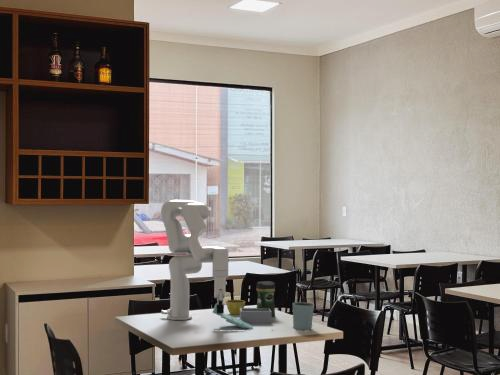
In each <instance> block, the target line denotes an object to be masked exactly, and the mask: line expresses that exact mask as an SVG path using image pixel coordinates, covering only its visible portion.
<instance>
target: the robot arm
mask: <svg viewBox="0 0 500 375" xmlns="http://www.w3.org/2000/svg"><path fill="white" fill-rule="evenodd" d="M160 209H161V210H160V216H161V219H162V223H163V225H164V226H163V227H164V228H165V234H166V235H165V236H166V240H167V245H168V250H169V251H170V253H172V254H175V255H176V254H182V255H176V256H172V258H171V259H169V262H168V269H169V275H170V296H169V297H170V298H169V299H170V301H169V302H170V306H169V308H168V309H166V310H163V309H161V315H167V316H166V318H167V320H170V321H171V320H173V321H186V320H190V319H192V318H193V315H191V314H190V280H189V278H188V277H187V275H189V274H191V275H192V274H199V273H200V271H201V270H202V267H203V263H212V274H211V276H212V278H214V285H213V287H214V288H213V289H214V292H213V294H214V296H213V297H214V299H216V302H217V313H224V314H225V309H224V308H225V305H224V299H225V298H226V290H227V289H226V286H227V285H226V284H227V283H226V281H227V278H229V249H228V248H227V247H220V246H216V245H214V246H213V245H212V246H209V245H207V246H201V244H200V242H199V239H198V237H200V236H202V235H204V233H206V231H207V230H208V227H207V224H206V222H205V220H207V219H208V218H209V217H210V210H209V207H208V206H207V205H206V204H205V203H203V202H200V201H199V202H198V201H195V200H190V199H189V200H188V199H170V200H167V201H165V202H164V203H163V204H162V206H161V208H160ZM177 217H182V218H183V220H184V222H185V225H186V226H187V229H188V230H189V232H190V234H184V231H183V226H182V224H181V222H180V220H179V219H177ZM183 254H184V255H183Z"/></svg>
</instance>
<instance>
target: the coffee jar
mask: <svg viewBox="0 0 500 375" xmlns="http://www.w3.org/2000/svg"><path fill="white" fill-rule="evenodd" d="M275 284H276V283H275V281H271V280H264V281H257V283H256V287H255V288H256V289H255V290H256V292H257V298H256V300H257V301H256V308H270V310H271V311H272V318H274V317H275V316H276V308H275V306H276V305H275V291H276V285H275Z"/></svg>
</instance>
